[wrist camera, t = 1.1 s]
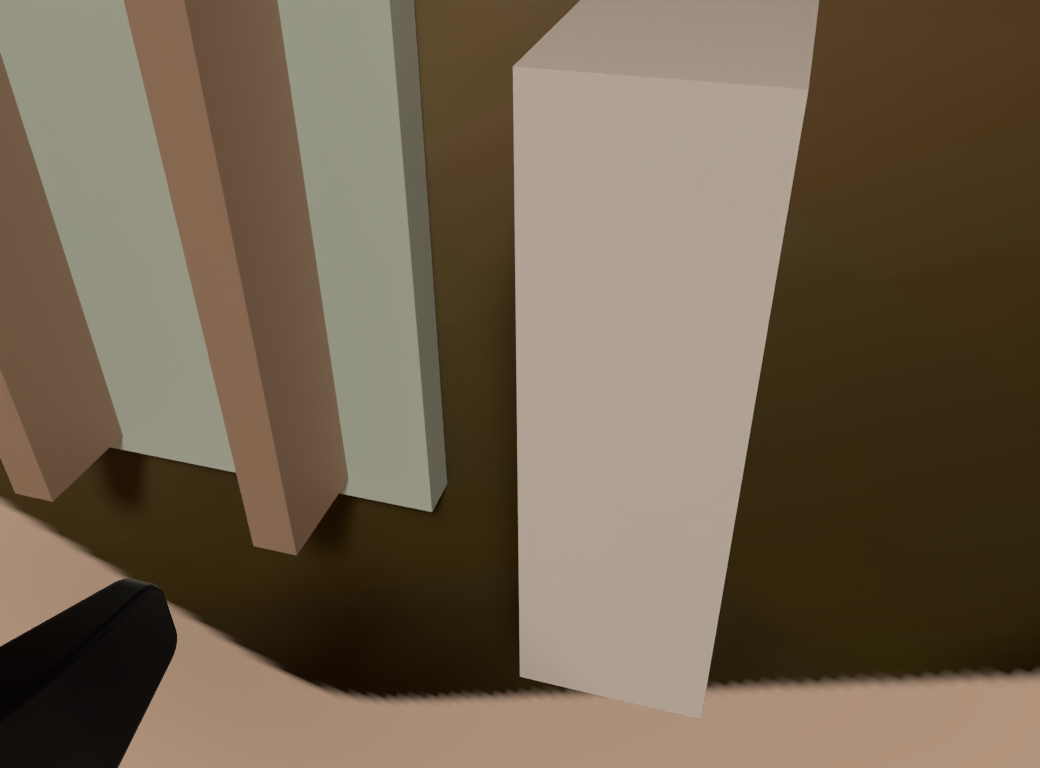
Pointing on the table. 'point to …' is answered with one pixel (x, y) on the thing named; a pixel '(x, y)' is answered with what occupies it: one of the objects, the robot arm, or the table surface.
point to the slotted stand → (219, 250)
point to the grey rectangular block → (644, 323)
